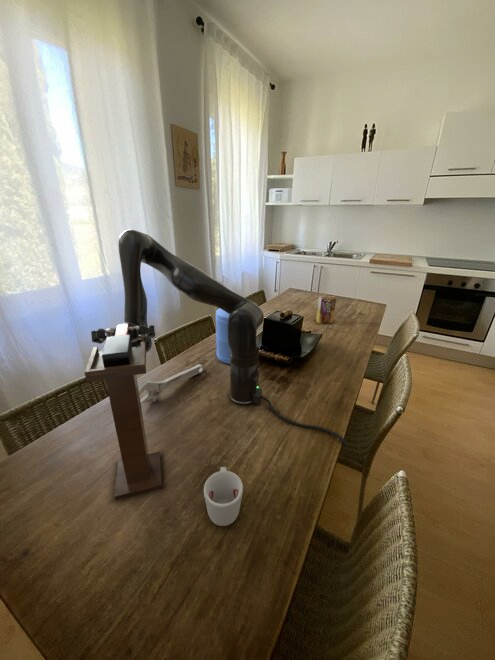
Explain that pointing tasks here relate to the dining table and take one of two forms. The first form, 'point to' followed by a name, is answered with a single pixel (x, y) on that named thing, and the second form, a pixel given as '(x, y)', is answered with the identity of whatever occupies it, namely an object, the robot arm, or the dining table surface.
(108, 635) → the dining table surface
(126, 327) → the black and white bar
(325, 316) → the candy box
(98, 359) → the stand
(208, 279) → the robot arm
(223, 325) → the water jug
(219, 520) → the cup
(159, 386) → the wrench
